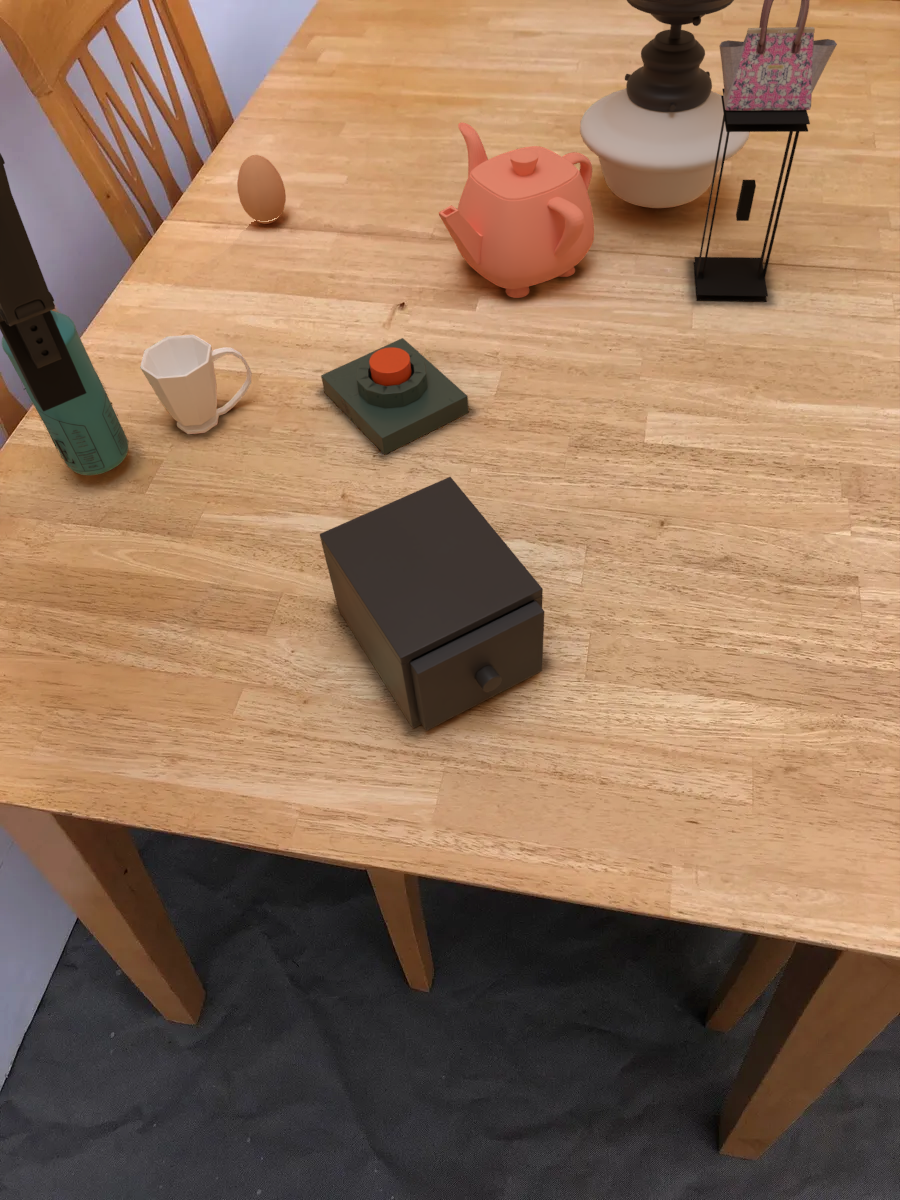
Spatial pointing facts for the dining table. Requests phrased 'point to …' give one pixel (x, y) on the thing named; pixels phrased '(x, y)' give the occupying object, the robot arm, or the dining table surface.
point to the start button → (390, 366)
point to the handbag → (761, 104)
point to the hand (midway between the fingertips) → (60, 395)
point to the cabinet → (421, 579)
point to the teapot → (522, 214)
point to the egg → (261, 189)
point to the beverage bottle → (81, 413)
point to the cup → (189, 380)
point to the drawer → (478, 664)
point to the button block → (395, 399)
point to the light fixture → (663, 116)
